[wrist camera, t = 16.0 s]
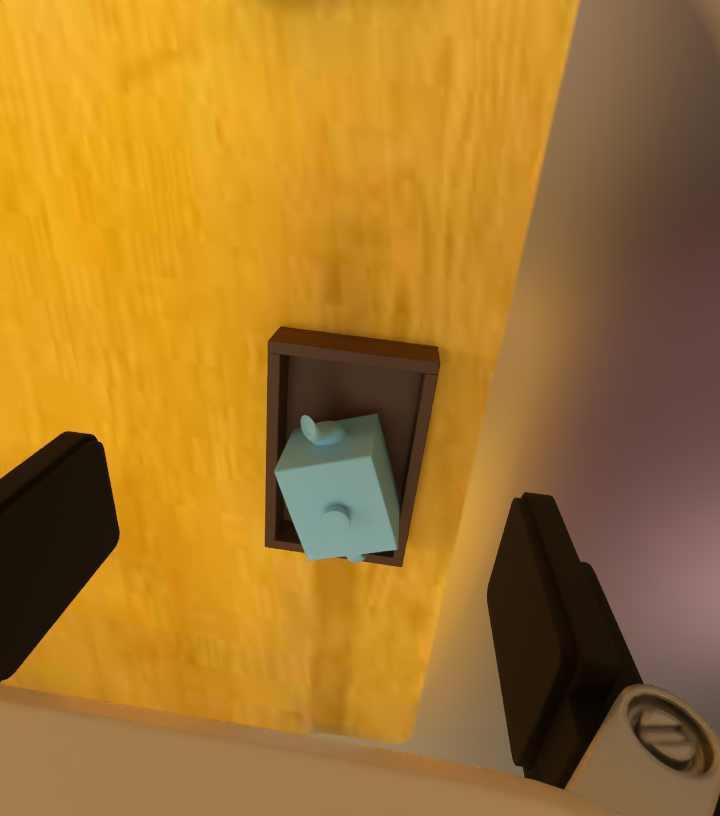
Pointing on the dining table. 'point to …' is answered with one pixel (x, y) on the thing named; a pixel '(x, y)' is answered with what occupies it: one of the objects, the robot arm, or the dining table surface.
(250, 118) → the dining table surface
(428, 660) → the dining table surface
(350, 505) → the teapot
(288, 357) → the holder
